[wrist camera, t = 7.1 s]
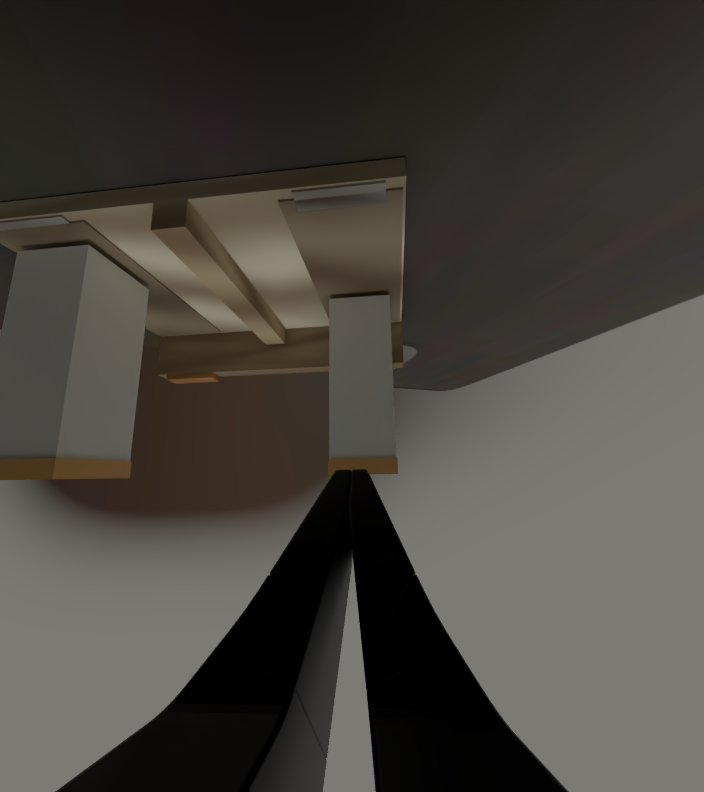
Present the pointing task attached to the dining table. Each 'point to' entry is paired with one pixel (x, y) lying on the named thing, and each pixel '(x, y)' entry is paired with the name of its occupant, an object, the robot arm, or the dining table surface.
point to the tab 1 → (69, 366)
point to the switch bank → (240, 259)
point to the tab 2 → (361, 385)
